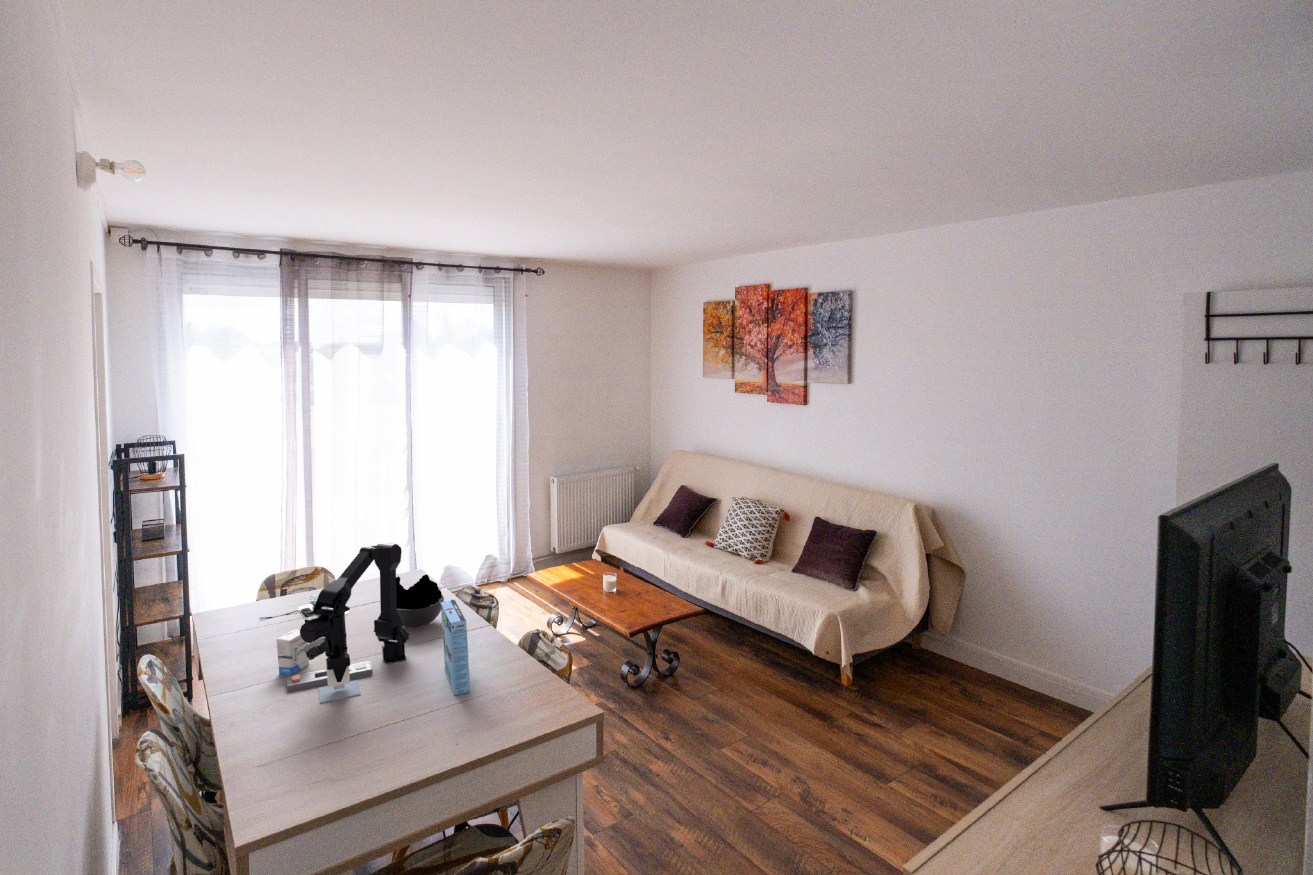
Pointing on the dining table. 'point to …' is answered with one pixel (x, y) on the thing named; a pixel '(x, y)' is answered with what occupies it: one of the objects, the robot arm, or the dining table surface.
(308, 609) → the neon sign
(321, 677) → the power strip
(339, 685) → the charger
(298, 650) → the ink box
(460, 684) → the light blue carton
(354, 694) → the mat
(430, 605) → the coal bowl
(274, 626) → the dining table surface
